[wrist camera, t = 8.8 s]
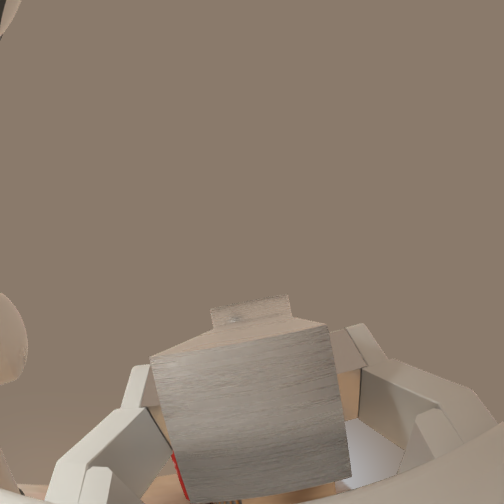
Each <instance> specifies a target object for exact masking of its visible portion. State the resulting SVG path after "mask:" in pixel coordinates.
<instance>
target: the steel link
mask: <svg viewBox="0 0 504 504" xmlns="http://www.w3.org/2000/svg"><path fill="white" fill-rule="evenodd" d="M210 312H211V318H212V323H213V328H214V329H212V330H210V331H208V332H206V333H203V334H201V335H199V336H197V337H195V338H192V339H190V340H188V341H185V342H183V343H181V344H179V345H176V346H174V347H172V348H169V349H167V350H165V351H163V352H160V353H158V354H155V355H153V356H151V357H150V362H151V367H152V371H153V376H154V380H155V384H156V389H157V393H158V397H159V401H160V405H161V409H162V413H163V416H164V420H165V424H166V427H167V431H168V434H169V438H170V441H171V445H172V448H173V451H174V455H175V458H176V461H177V464H178V467H179V471H180V474H181V477H182V480H183V483H184V486H185V488H186V491H187V494H188V497H189V500H190V503H209V502H222V501H233V500H242V499H250V498H257V497H264V496H270V495H276V494H282V493H287V492H292V491H297V490H302V489H307V488H311V487H315V486H320V485H324V484H328V483H331V482H335V481H339V480H342V479H346V478H349V477H352V474H351V466H350V458H349V451H348V443H347V437H346V430H345V423H344V416H343V410H342V403H341V397H340V391H339V385H338V379H337V373H336V368H335V362H334V357H333V351H332V346H331V341H330V335H329V330H328V325H327V324H324V323H318V322H314V321H309V320H305V319H300V318H296V317H292V313H291V308H290V303H289V298H288V294H284V295H278V296H272V297H267V298H262V299H257V300H252V301H246V302H241V303H237V304H232V305H227V306H222V307H217V308H213V309H210Z"/></svg>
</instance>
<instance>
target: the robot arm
mask: <svg viewBox="0 0 504 504" xmlns="http://www.w3.org/2000/svg"><path fill="white" fill-rule="evenodd" d="M20 2H21V0H0V40H1V38H2V36H3V33H4V31H5V30H6V29H7V27H8V26H9V24H10V23H11V21H12V19H13V17H14V16H15V14H16V12H17V9H18V7H19V5H20ZM329 335H330V341H331V346H332V351H333V357H334V362H335V368H336V373H337V379H338V385H339V391H340V397H341V403H342V410H343V416H344V421H348V420H352V419H355V418H359V420H361V421H362V422H363V423H365V424H366V425H368V426H369V427H371V428H372V429H374V430H375V431H376V432H378V433H379V434H381V435H382V436H384V437H385V438H387V439H388V440H390V441H391V442H393V443H394V444H396V445H397V446H399V447H400V448H402V449H403V450H405V453H404V456H403V458H402V461H401V464H400V466H399V469H398V472H397V475H394V476H392V477H389V478H386V479H384V480H381V481H378V482H375V483H372V484H369V485H366V486H363V487H360V488H356V489H353V490H350V491H346V492H343V493H339V494H335V495H331V496H328V497H324V498H319V499H315V500H311V501H306V502H302V503H297V504H504V421H503V422H501V423H500V424H498V423H497V421H496V420H495V419H494V417H493V416H492V415H491V413H490V412H489V411H488V409H487V408H486V407H485V405H484V404H483V403H482V401H481V400H480V399H479V398H478V396H477V395H476V394H475V392H473V390H472V389H470V388H468V387H465V386H462V385H460V384H457V383H454V382H452V381H449V380H447V379H444V378H442V377H439V376H436V375H434V374H431V373H429V372H426V371H424V370H421V369H419V368H416V367H414V366H411V365H408V364H406V363H404V362H401V361H399V360H396V359H391V360H388V358H387V357H386V355H385V354H384V352H383V351H382V349H381V348H380V346H379V345H378V343H377V342H376V340H375V339H374V337H373V336H372V334H371V333H370V331H369V330H368V329H367V327H366V326H365V324H363V323H360V324H357V325H353V326H350V327H346V328H344V329H341V330H337V331H333V332H329ZM27 353H28V340H27V333H26V329H25V325H24V322H23V320H22V318H21V316H20V314H19V312H18V310H17V308H16V307H15V306H14V304H13V303H12V302H11V301H10V300H9V299H8V298H7V297H6V296H5V295H4V294H2V293H1V292H0V386H1V385H3V384H6V383H9V382H11V381H14V380H17V379H18V378H19V376H20V375H21V373H22V371H23V369H24V366H25V363H26V359H27ZM172 454H173V448H172V445H171V441H170V438H169V434H168V431H167V427H166V424H165V420H164V416H163V413H162V409H161V405H160V401H159V397H158V393H157V389H156V384H155V380H154V376H153V371H152V367H151V364H147V365H137V366H135V367H133V368H132V371H131V374H130V378H129V381H128V384H127V387H126V391H125V394H124V398H123V401H122V405H121V408H120V409H115V410H114V411H113V412H112V413H111V414H110V415H108V416H107V417H106V418H105V419H104V420H103V421H102V422H101V423H99V424H98V425H97V426H96V427H95V428H94V429H93V430H92V431H91V432H90V433H88V434H87V435H86V436H85V437H84V438H83V439H82V440H80V442H78V443H77V444H76V445H75V446H74V447H73V448H72V449H70V450H69V451H68V452H67V453H66V454H65V455H64V456H63V457H61V458H60V459H59V460H58V461H57V463H56V466H55V469H54V472H53V475H52V478H51V481H50V484H49V488H48V491H47V494H46V497H45V501H44V500H40V499H36V498H32V497H28V496H25V495H24V493H23V492H22V491H21V490H20V489H19V488H18V487H17V484H16V482H15V480H14V478H13V476H12V474H11V471H10V469H9V467H8V465H7V462H6V460H5V457H4V455H3V452H2V450H1V447H0V504H145V503H144V502H143V501H142V500H140V499H141V497H142V496H143V494H144V493H145V492H146V490H147V489H148V488H149V486H150V485H151V483H152V482H153V481H154V479H155V478H156V476H157V475H158V474H159V472H160V471H161V469H162V468H163V466H164V465H165V464H166V462H167V461H168V459H169V458H170V456H171V455H172Z"/></svg>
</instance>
